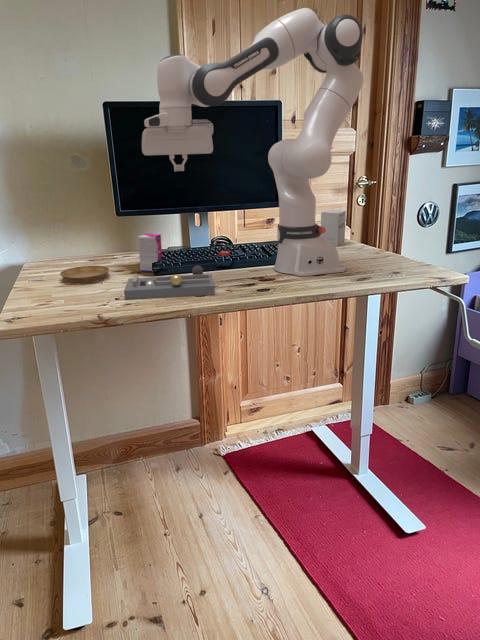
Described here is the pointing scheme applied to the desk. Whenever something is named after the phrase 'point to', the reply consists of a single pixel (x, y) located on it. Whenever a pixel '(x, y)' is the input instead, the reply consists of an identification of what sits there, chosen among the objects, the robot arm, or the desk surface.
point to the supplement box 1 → (149, 250)
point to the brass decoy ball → (176, 280)
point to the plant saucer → (85, 274)
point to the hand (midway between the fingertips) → (179, 171)
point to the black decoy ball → (197, 270)
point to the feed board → (169, 287)
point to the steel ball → (149, 283)
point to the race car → (224, 253)
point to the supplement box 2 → (334, 226)
